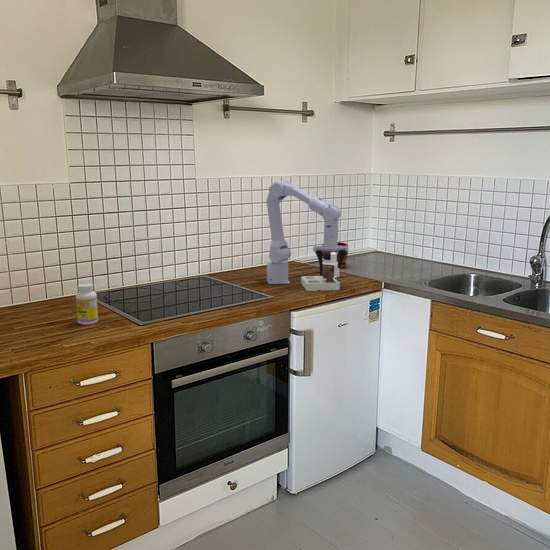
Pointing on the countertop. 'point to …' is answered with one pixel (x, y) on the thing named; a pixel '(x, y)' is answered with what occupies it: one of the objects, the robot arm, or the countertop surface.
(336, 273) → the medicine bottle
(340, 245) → the plant pot
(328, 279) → the walnut pin
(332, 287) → the pin board
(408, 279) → the countertop surface
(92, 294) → the supplement bottle
